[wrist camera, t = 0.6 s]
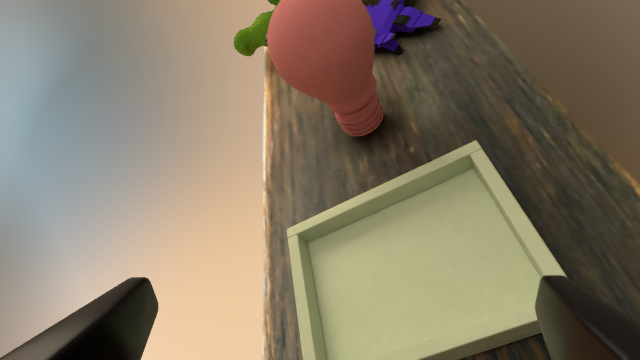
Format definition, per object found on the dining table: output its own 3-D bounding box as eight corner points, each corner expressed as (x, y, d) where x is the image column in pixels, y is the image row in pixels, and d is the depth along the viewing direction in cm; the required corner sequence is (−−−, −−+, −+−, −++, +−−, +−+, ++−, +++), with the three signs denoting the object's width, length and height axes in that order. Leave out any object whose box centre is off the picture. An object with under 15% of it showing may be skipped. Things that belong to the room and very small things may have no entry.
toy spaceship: (334, 50, 40) (324, 33, 38) (379, -13, 42) (372, -31, 40) (416, 61, 33) (409, 42, 32) (466, -13, 35) (462, -35, 33)
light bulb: (405, 78, 33) (344, -61, 24) (417, 139, 28) (348, -4, 20) (330, 108, 35) (252, -8, 27) (330, 168, 31) (238, 52, 23)
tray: (585, 318, 18) (585, 304, 16) (326, 402, 21) (307, 397, 20) (482, 159, 25) (476, 139, 23) (301, 241, 28) (286, 228, 27)
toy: (222, 32, 45) (235, 69, 44) (340, -98, 34) (361, -54, 33) (275, 48, 52) (287, 80, 51) (386, -56, 41) (405, -18, 40)
